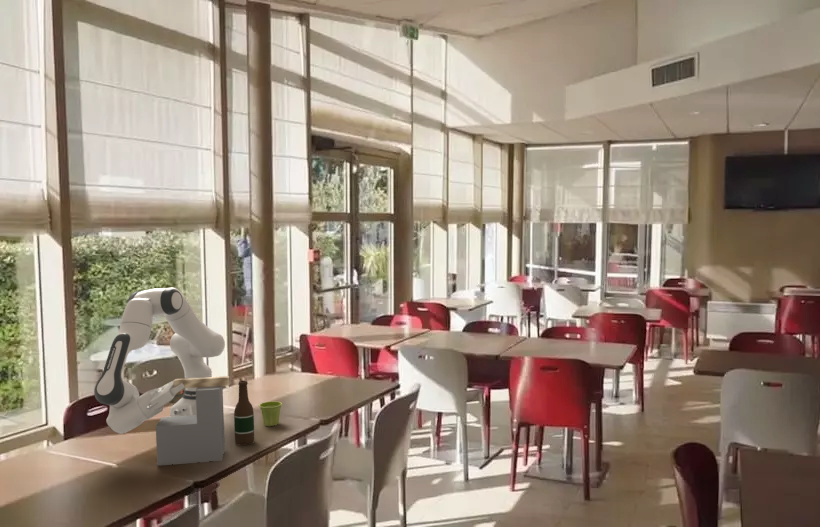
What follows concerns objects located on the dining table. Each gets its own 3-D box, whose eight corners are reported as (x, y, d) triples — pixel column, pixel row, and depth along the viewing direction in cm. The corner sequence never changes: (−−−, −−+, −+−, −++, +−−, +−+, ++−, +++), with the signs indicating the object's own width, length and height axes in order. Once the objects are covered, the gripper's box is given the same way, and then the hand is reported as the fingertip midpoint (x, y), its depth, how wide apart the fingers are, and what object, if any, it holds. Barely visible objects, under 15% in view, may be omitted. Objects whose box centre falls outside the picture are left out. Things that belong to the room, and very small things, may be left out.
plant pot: (275, 428, 286) (274, 407, 286) (255, 426, 289) (254, 406, 289) (286, 422, 295) (285, 402, 295) (267, 420, 298) (266, 400, 298)
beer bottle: (249, 445, 264) (247, 383, 263) (231, 444, 266) (228, 383, 264) (258, 439, 272) (256, 379, 270) (239, 438, 273) (237, 378, 272)
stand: (157, 465, 244) (154, 392, 243) (163, 454, 256) (160, 385, 254) (221, 460, 248) (219, 389, 246) (224, 450, 260) (222, 381, 258)
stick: (174, 388, 248) (174, 380, 248) (175, 387, 251) (175, 379, 251) (228, 385, 251) (228, 377, 251) (229, 384, 254) (229, 376, 254)
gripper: (140, 403, 238) (176, 381, 239) (152, 389, 258) (185, 369, 260) (150, 418, 239) (186, 396, 240) (161, 403, 259) (194, 383, 260)
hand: (185, 382), depth 250 cm, fingers open, 8 cm apart
